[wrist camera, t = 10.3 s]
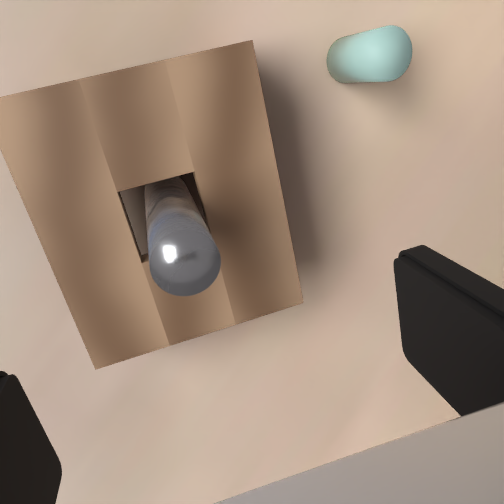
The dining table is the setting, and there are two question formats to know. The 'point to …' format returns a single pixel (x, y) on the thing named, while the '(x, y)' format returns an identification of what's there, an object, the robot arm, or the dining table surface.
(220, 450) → the dining table surface
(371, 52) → the short pin
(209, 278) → the long pin
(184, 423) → the dining table surface
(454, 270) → the robot arm
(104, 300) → the bridge
